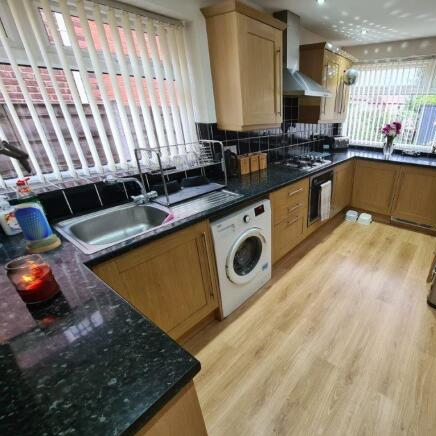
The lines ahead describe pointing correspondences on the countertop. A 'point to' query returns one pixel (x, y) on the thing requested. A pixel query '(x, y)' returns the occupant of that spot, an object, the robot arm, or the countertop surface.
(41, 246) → the green frosted donut
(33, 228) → the blue canister
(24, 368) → the countertop surface
